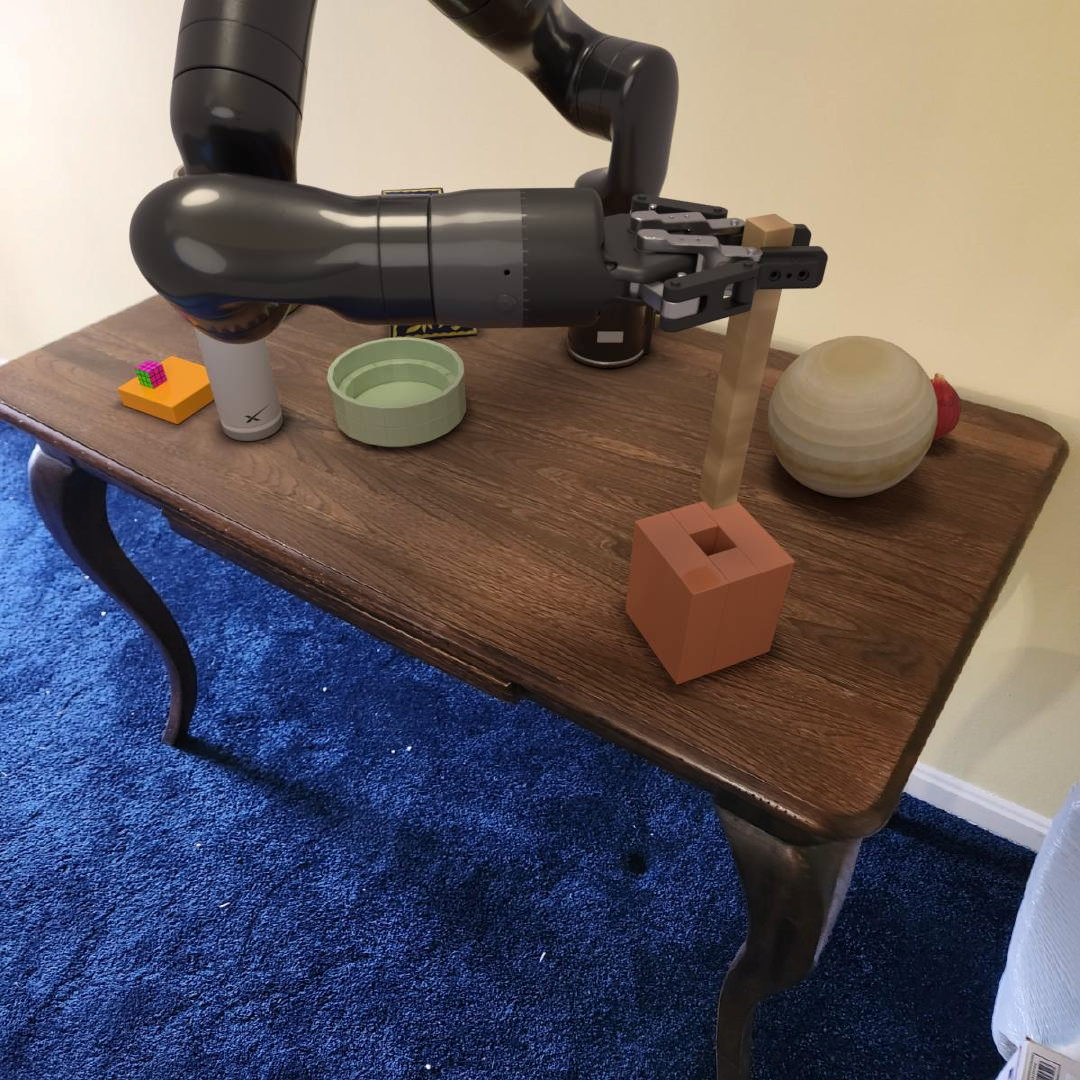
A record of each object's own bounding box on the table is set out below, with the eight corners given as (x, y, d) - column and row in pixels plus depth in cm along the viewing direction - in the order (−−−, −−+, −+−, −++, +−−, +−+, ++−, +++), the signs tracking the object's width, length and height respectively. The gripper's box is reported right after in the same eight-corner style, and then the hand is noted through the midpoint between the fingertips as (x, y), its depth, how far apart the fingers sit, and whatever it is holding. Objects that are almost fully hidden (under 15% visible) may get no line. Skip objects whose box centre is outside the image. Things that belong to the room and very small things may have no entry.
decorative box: (390, 342, 105) (382, 272, 99) (379, 243, 127) (372, 181, 121) (477, 335, 107) (474, 266, 101) (452, 239, 129) (448, 177, 123)
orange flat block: (177, 372, 100) (166, 339, 97) (229, 389, 97) (220, 356, 94) (123, 405, 95) (110, 371, 92) (177, 425, 92) (166, 390, 89)
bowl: (442, 370, 101) (438, 327, 97) (485, 434, 91) (483, 389, 87) (321, 395, 96) (313, 352, 93) (353, 465, 87) (346, 420, 83)
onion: (950, 433, 92) (976, 367, 87) (944, 462, 88) (971, 395, 83) (894, 420, 94) (916, 355, 88) (886, 448, 90) (908, 381, 85)
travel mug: (271, 446, 89) (226, 261, 76) (212, 438, 90) (158, 254, 77) (296, 413, 94) (257, 233, 80) (239, 406, 95) (192, 227, 81)
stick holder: (712, 582, 75) (730, 492, 68) (769, 651, 69) (795, 561, 62) (624, 610, 72) (634, 520, 65) (676, 685, 66) (693, 594, 60)
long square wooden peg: (721, 487, 62) (775, 212, 49) (736, 503, 61) (796, 225, 48) (697, 494, 62) (745, 217, 48) (712, 510, 60) (766, 231, 47)
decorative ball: (943, 504, 83) (1000, 368, 73) (818, 547, 78) (861, 408, 68) (840, 424, 93) (878, 295, 83) (725, 458, 88) (750, 325, 78)
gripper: (520, 246, 41) (875, 241, 42) (510, 149, 51) (794, 147, 52) (520, 382, 46) (837, 375, 47) (511, 269, 56) (771, 265, 57)
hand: (813, 255), depth 49 cm, fingers closed on long square wooden peg, 2 cm apart
